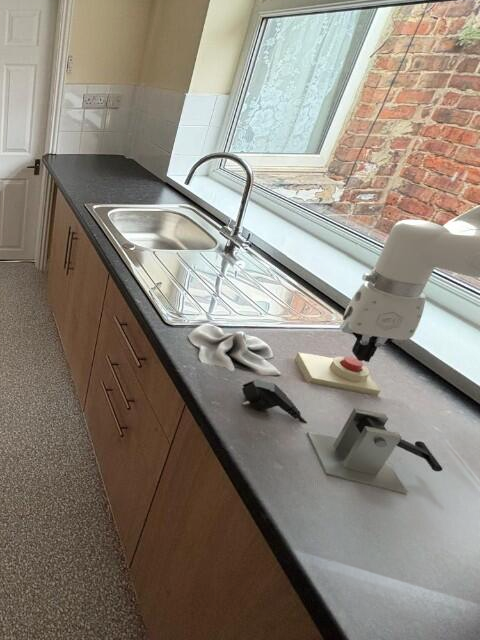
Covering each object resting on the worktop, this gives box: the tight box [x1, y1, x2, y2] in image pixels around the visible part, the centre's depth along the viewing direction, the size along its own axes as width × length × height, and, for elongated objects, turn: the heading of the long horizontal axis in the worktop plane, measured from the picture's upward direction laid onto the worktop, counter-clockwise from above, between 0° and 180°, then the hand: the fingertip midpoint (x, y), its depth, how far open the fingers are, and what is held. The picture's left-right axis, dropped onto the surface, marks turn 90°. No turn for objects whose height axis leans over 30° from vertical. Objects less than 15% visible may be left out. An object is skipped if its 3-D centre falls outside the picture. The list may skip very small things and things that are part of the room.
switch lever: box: [356, 417, 443, 473], centre depth 69 cm, size 11×5×2 cm, turn 72°
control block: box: [294, 351, 381, 397], centre depth 92 cm, size 12×9×4 cm
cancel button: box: [341, 355, 364, 372], centre depth 90 cm, size 3×3×2 cm
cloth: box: [187, 323, 282, 377], centre depth 99 cm, size 22×19×6 cm
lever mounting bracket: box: [306, 407, 408, 495], centre depth 71 cm, size 11×9×11 cm
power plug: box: [241, 378, 308, 424], centre depth 84 cm, size 6×8×12 cm
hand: (360, 357), depth 89 cm, fingers closed
